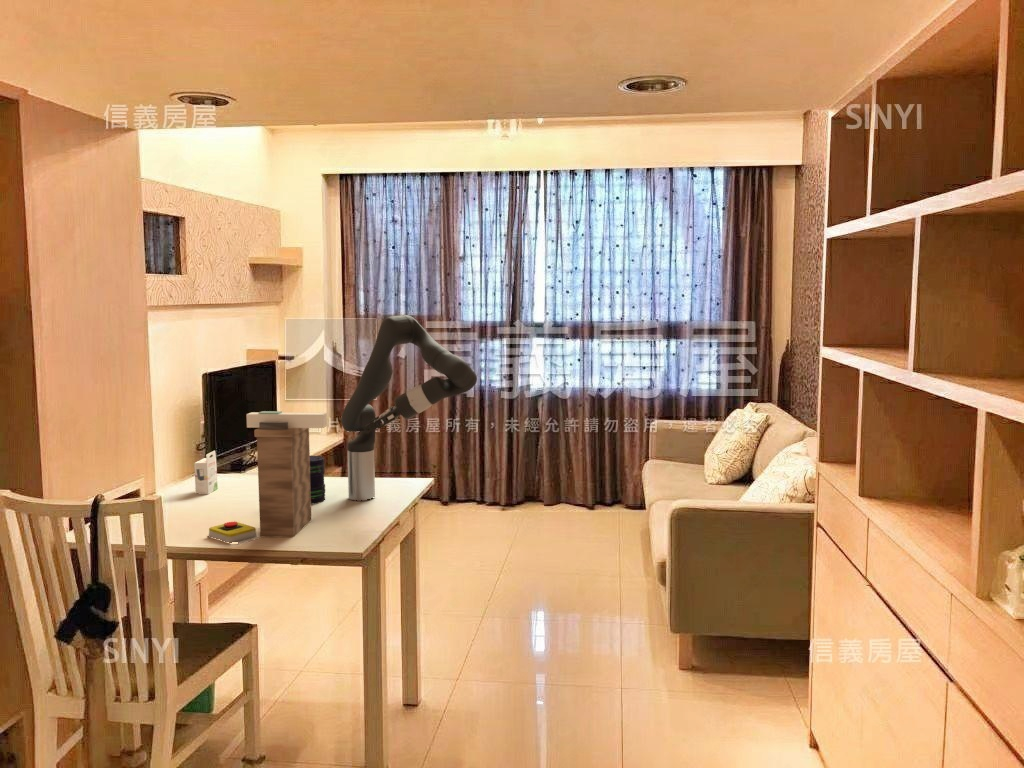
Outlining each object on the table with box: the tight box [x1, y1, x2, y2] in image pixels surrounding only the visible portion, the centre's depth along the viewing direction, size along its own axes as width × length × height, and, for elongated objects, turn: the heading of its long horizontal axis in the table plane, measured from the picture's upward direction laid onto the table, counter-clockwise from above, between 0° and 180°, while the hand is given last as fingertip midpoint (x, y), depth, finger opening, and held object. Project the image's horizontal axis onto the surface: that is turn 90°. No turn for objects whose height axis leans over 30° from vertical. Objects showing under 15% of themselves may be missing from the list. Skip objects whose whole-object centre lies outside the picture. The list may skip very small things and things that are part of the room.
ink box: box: [193, 450, 219, 495], centre depth 288 cm, size 9×5×15 cm, turn 178°
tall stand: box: [253, 422, 312, 537], centre depth 240 cm, size 19×11×34 cm, turn 178°
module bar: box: [245, 410, 328, 429], centre depth 236 cm, size 4×23×4 cm, turn 88°
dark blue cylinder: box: [310, 455, 326, 505], centre depth 275 cm, size 10×10×15 cm
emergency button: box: [208, 521, 261, 545], centre depth 233 cm, size 9×4×15 cm
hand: (368, 427), depth 237 cm, fingers open, 8 cm apart
